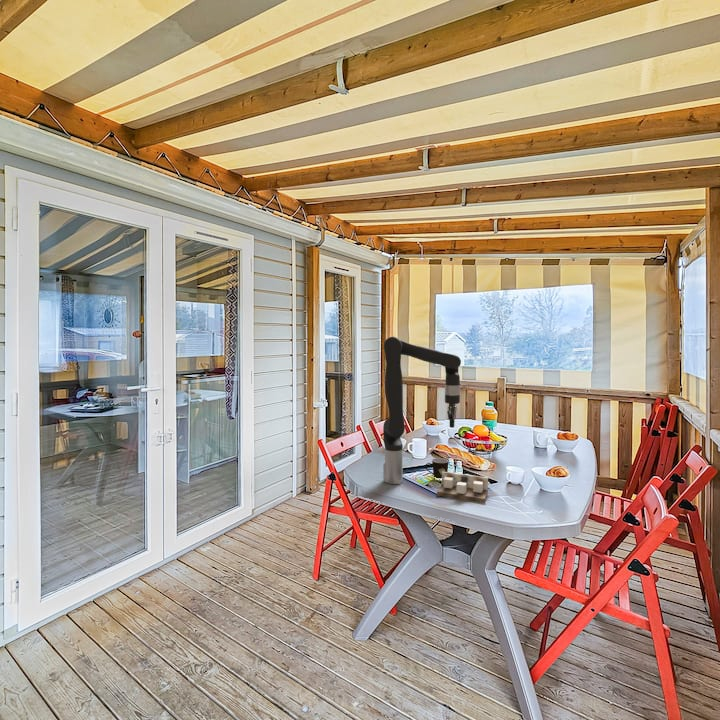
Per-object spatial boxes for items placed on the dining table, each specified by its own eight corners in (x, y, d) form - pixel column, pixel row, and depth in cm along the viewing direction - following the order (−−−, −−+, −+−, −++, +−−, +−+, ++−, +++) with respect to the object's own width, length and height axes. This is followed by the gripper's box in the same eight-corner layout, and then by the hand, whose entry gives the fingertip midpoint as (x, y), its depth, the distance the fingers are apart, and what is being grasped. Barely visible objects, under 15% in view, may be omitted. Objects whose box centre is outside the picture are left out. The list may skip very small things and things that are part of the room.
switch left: (443, 487, 201) (443, 479, 201) (445, 484, 205) (445, 476, 205) (451, 488, 200) (451, 480, 199) (453, 485, 203) (453, 477, 203)
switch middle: (456, 492, 194) (456, 484, 194) (457, 489, 198) (458, 481, 198) (465, 494, 193) (465, 485, 192) (466, 491, 196) (466, 482, 196)
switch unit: (436, 495, 197) (437, 479, 196) (442, 487, 208) (442, 471, 207) (484, 503, 188) (485, 485, 188) (487, 493, 199) (488, 477, 199)
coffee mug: (449, 477, 222) (449, 459, 221) (446, 482, 214) (446, 463, 213) (428, 474, 226) (428, 456, 226) (424, 479, 218) (424, 461, 218)
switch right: (473, 491, 196) (473, 483, 195) (474, 488, 199) (474, 480, 199) (481, 492, 194) (482, 484, 194) (482, 489, 198) (483, 481, 197)
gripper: (447, 391, 219) (447, 424, 220) (442, 395, 207) (441, 429, 208) (462, 392, 216) (461, 425, 217) (457, 395, 204) (457, 430, 205)
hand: (451, 427), depth 212 cm, fingers closed
